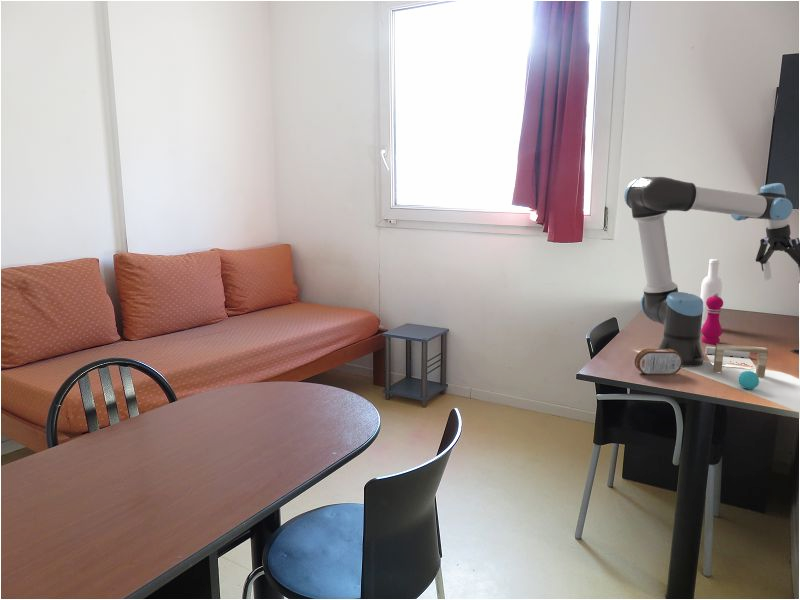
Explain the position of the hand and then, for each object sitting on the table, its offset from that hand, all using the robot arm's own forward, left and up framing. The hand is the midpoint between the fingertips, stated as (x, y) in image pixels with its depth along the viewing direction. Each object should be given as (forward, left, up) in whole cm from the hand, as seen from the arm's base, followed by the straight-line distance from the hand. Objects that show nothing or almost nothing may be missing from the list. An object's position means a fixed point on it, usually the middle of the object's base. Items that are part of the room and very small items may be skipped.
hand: (784, 280), depth 228 cm
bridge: (-20, -42, -26) cm, 53 cm away
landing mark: (-20, -28, -26) cm, 43 cm away
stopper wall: (-20, -19, -26) cm, 38 cm away
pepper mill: (-23, +1, -26) cm, 35 cm away
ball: (-20, -58, -23) cm, 66 cm away
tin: (-45, -52, -26) cm, 74 cm away
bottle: (-21, +28, -26) cm, 43 cm away
